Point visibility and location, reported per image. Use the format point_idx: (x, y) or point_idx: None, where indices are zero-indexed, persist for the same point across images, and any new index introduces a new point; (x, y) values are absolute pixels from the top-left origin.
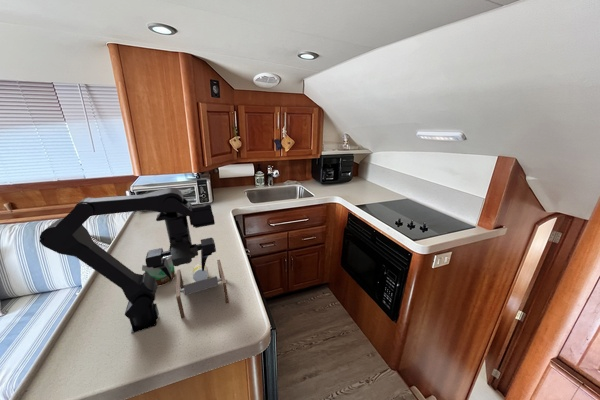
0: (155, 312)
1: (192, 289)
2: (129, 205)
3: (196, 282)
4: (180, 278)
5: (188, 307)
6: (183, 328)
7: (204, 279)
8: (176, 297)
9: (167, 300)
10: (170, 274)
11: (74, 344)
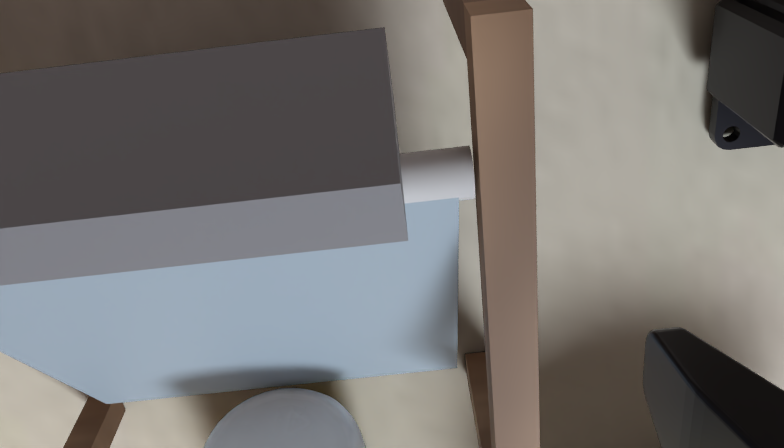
0: (774, 20)
1: (246, 91)
2: None
3: (152, 198)
4: (491, 442)
5: (403, 94)
6: None
7: (248, 411)
8: (525, 4)
9: (618, 265)
10: (712, 438)
11: None
